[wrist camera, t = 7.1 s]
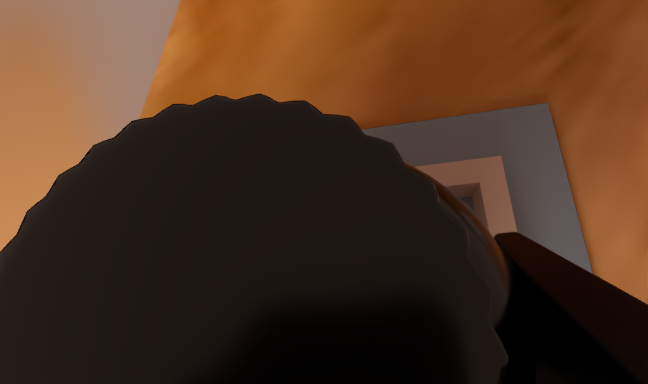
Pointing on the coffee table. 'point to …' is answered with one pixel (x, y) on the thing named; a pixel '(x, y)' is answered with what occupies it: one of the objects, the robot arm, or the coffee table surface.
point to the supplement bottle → (256, 262)
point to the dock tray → (499, 171)
